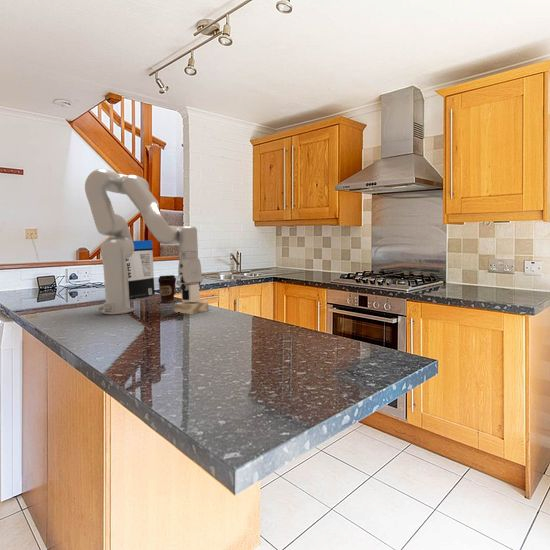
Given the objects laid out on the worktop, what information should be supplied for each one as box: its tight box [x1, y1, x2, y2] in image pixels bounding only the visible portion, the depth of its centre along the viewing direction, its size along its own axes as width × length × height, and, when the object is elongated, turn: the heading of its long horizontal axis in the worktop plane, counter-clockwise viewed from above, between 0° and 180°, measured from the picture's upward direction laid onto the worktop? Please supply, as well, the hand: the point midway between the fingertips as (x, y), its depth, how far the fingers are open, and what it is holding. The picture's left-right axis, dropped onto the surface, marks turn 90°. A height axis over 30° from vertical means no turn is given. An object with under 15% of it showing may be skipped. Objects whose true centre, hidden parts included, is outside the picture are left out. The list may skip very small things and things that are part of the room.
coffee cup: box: [157, 274, 177, 303], centre depth 202 cm, size 9×8×13 cm
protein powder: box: [125, 239, 156, 300], centre depth 219 cm, size 10×24×30 cm, turn 148°
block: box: [173, 300, 209, 315], centre depth 176 cm, size 10×10×4 cm
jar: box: [181, 282, 201, 302], centre depth 175 cm, size 5×5×8 cm
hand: (190, 298), depth 175 cm, fingers closed on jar, 5 cm apart
